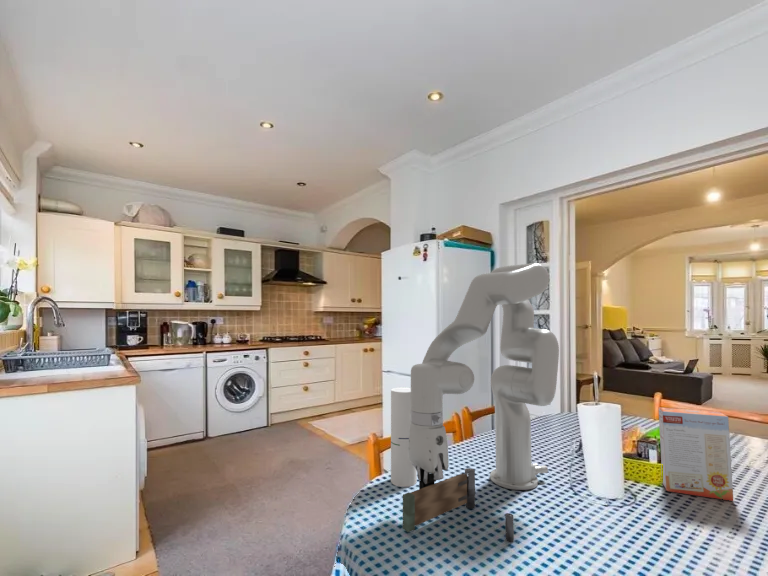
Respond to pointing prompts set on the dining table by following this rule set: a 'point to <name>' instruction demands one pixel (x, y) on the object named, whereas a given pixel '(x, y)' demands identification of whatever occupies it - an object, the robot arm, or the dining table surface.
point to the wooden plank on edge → (433, 501)
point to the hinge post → (470, 488)
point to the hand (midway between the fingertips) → (426, 498)
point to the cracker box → (696, 452)
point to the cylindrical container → (401, 438)
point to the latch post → (509, 527)
